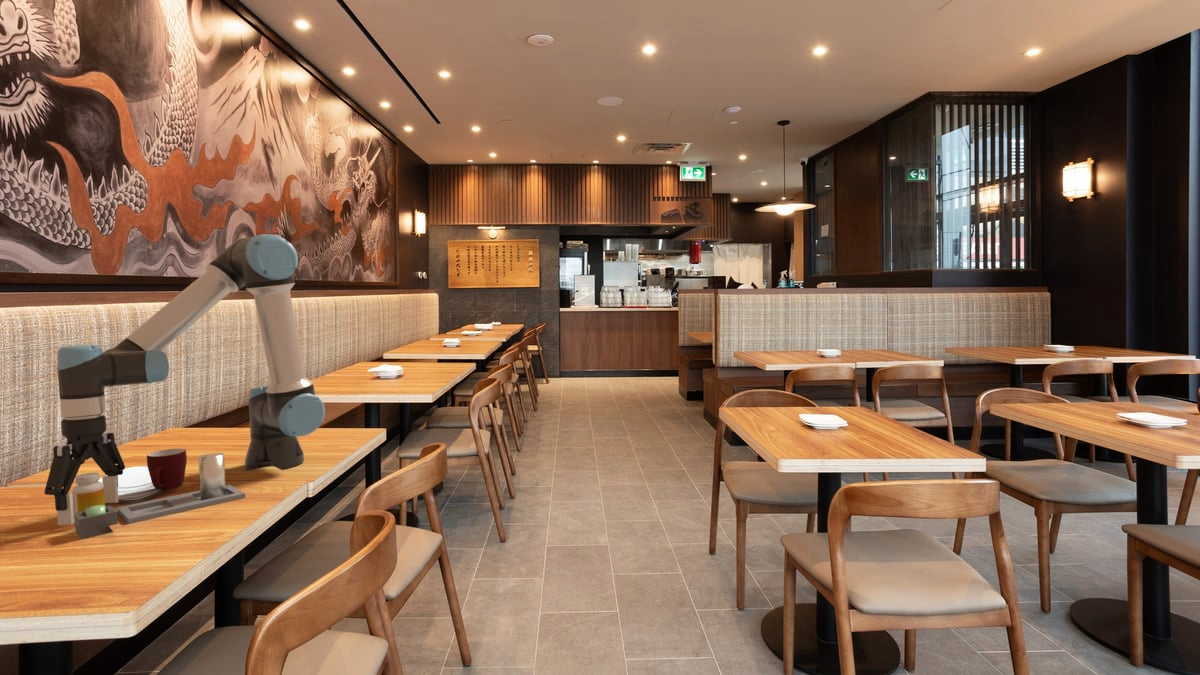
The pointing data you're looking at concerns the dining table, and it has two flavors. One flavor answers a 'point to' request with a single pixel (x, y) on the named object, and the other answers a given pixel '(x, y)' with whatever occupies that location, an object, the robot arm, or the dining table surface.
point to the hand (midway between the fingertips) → (89, 514)
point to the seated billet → (212, 475)
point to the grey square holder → (95, 523)
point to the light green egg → (95, 510)
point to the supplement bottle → (87, 492)
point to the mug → (167, 468)
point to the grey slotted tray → (174, 505)
